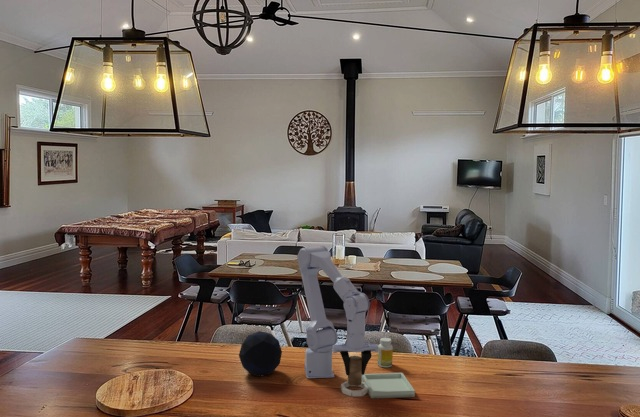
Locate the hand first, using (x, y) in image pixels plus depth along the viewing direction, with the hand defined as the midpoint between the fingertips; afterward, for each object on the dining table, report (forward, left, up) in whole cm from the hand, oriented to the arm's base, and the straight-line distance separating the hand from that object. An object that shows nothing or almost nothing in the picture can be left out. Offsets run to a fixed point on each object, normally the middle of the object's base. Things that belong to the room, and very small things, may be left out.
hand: (354, 373), depth 159 cm
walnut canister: (0, 0, -3) cm, 3 cm away
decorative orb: (-30, +16, -6) cm, 34 cm away
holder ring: (0, 0, -6) cm, 6 cm away
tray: (+11, +1, -6) cm, 12 cm away
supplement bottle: (+15, +20, -6) cm, 26 cm away
